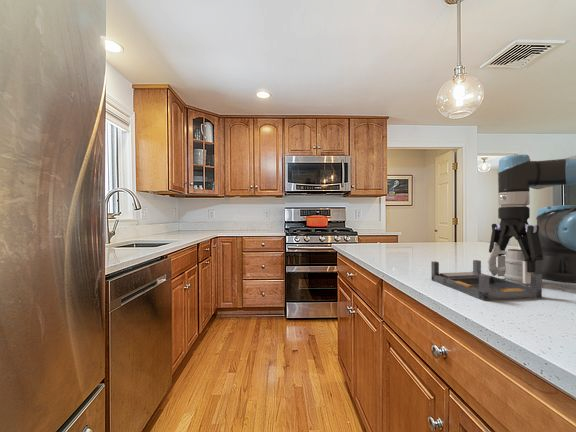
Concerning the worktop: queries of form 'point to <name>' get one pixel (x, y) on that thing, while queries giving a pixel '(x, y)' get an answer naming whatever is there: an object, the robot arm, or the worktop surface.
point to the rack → (487, 284)
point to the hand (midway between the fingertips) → (513, 279)
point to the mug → (508, 264)
